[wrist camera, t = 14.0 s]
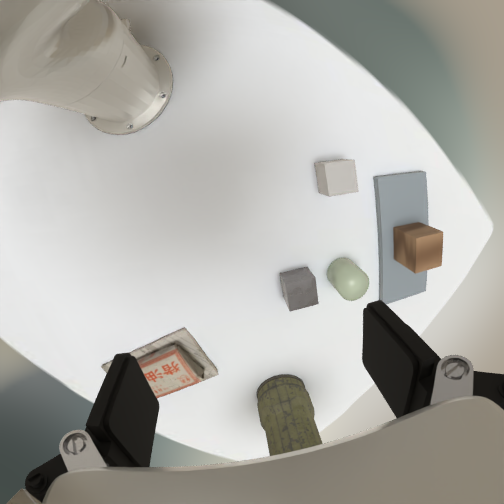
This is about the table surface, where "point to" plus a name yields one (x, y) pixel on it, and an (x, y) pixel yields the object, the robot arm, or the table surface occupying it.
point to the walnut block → (418, 246)
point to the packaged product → (172, 363)
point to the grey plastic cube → (336, 177)
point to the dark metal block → (299, 288)
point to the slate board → (392, 215)
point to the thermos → (287, 415)
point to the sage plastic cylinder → (348, 279)
